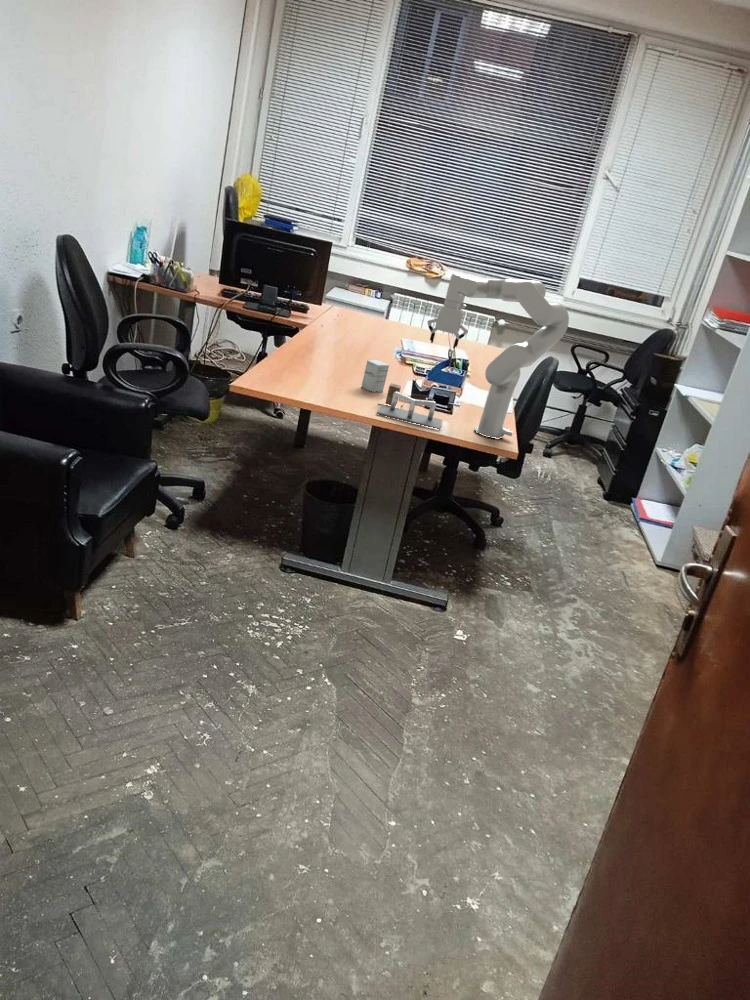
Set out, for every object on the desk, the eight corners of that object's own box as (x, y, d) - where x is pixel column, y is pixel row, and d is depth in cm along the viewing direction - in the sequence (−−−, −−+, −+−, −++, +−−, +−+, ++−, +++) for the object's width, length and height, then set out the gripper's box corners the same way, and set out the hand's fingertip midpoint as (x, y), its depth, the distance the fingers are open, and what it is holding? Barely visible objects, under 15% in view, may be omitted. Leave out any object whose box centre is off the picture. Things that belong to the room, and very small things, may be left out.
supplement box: (360, 387, 338) (366, 359, 333) (372, 386, 343) (378, 359, 338) (371, 392, 334) (378, 365, 329) (383, 392, 339) (389, 364, 334)
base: (441, 422, 315) (442, 419, 315) (438, 431, 303) (439, 428, 303) (381, 406, 317) (382, 404, 316) (376, 414, 305) (377, 411, 304)
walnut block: (396, 403, 325) (401, 385, 322) (395, 406, 321) (399, 388, 318) (386, 401, 325) (390, 383, 322) (385, 403, 321) (389, 385, 318)
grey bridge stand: (432, 419, 312) (436, 401, 309) (430, 423, 306) (435, 405, 303) (390, 408, 313) (394, 390, 310) (387, 412, 307) (392, 394, 304)
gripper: (474, 308, 315) (463, 348, 321) (433, 298, 316) (423, 338, 322) (473, 311, 308) (462, 352, 314) (432, 300, 309) (422, 341, 316)
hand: (442, 345), depth 318 cm, fingers open, 9 cm apart
